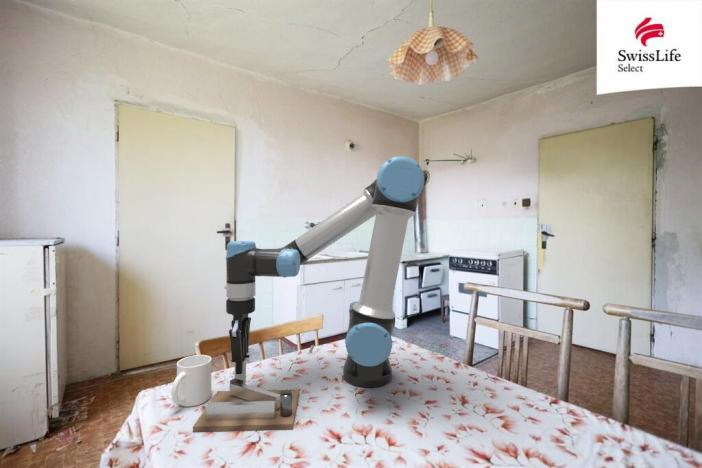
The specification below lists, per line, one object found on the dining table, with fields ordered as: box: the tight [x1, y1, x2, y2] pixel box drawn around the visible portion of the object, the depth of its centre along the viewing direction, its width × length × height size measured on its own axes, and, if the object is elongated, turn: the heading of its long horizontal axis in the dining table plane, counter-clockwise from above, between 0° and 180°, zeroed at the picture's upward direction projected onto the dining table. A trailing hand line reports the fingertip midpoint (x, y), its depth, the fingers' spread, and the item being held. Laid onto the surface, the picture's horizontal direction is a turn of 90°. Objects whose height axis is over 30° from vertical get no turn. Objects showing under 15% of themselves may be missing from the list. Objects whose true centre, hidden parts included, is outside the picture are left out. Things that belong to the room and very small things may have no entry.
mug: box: [171, 354, 213, 408], centre depth 85 cm, size 12×8×10 cm
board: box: [192, 389, 300, 433], centre depth 82 cm, size 22×16×1 cm
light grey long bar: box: [229, 377, 280, 410], centre depth 84 cm, size 16×2×4 cm, turn 64°
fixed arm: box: [205, 391, 292, 420], centre depth 78 cm, size 19×3×5 cm, turn 94°
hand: (240, 383), depth 90 cm, fingers closed
